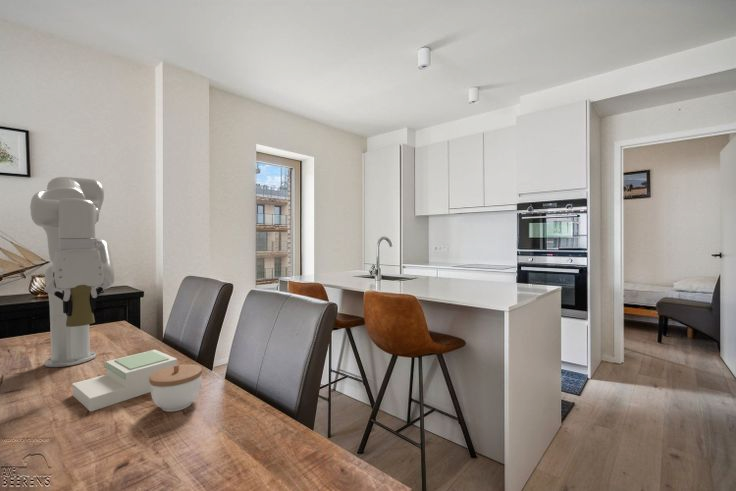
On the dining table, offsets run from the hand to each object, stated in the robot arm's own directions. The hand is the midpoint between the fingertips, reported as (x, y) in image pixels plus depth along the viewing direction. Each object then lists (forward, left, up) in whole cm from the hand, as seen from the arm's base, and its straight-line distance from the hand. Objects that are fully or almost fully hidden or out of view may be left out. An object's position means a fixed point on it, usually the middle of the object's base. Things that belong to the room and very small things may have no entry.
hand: (79, 313), depth 93 cm
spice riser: (+13, +7, -19) cm, 24 cm away
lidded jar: (+33, +10, -19) cm, 40 cm away
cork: (0, 0, -3) cm, 3 cm away
